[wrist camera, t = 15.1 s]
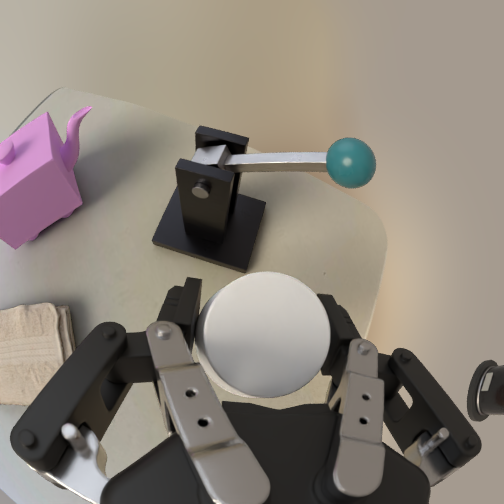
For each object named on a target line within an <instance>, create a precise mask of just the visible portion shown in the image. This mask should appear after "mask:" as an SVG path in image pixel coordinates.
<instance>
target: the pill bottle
mask: <svg viewBox="0 0 504 504" xmlns="http://www.w3.org/2000/svg"><path fill="white" fill-rule="evenodd" d="M329 346H330V324H329V319H328V316H327V313H326V310H325V308H324V306H323V304H322V303H321V301H320V299H319V298H318V297H317V295H316V294H315V293H314V292H313V291H312V290H311V289H310V288H309V287H308V286H307V285H305V284H304V283H303V282H301V281H299V280H298V279H296V278H294V277H291V276H289V275H286V274H283V273H278V272H256V273H251V274H248V275H245V276H242V277H240V278H238V279H236V280H234V281H233V282H231V283H230V284H229V285H227V286H225V287H223V288H222V289H220V290H219V291H218V292H216V293H215V294H214V295H213V296H212V297H211V298H210V299H209V300H208V302H207V303H206V304H205V306H204V307H203V309H202V311H201V313H200V315H199V317H198V320H197V324H196V329H195V347H196V353H197V356H198V359H199V361H200V363H201V365H202V367H203V369H204V370H205V372H206V373H207V375H208V376H209V377H210V378H211V379H212V380H213V381H214V382H215V383H216V384H217V385H218V386H220V387H221V388H223V389H224V390H226V391H228V392H230V393H233V394H235V395H238V396H242V397H248V398H274V397H280V396H285V395H287V394H290V393H293V392H295V391H297V390H299V389H300V388H302V387H303V386H305V385H306V384H307V383H308V382H310V381H311V380H312V379H313V378H314V377H315V376H316V374H317V373H318V372H319V370H320V369H321V367H322V366H323V364H324V361H325V359H326V357H327V354H328V351H329Z"/></svg>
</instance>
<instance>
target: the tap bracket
mask: <svg viewBox="0 0 504 504" xmlns="http://www.w3.org/2000/svg"><path fill="white" fill-rule="evenodd" d="M195 142H196V151H197V149H198V148H202V147H210V146H219V145H227V147H228V149H229V151H230V153H231V155H240V154H246V151H247V146H248V142H249V138H247V137H244V136H240V135H236V134H232V133H229V132H225V131H221V130H216V129H213V128H209V127H204V126H199V127H198V129H197V131H196V132H195ZM175 170H176V178H177V187H176V189H175V191H174V193H173V195H172V197H171V199H170V202H169V204H168V206H167V208H166V210H165V212H164V214H163V216H162V219H161V221H160V223H159V225H158V227H157V230H156V232H155V234H154V236H153V239H152V242H153V244H154V245H157V246H160V247H163V248H167V249H170V250H173V251H176V252H179V253H182V254H185V255H188V256H191V257H194V258H198V259H201V260H204V261H207V262H210V263H213V264H216V265H220V266H223V267H226V268H229V269H233V270H236V271H239V272H242V273H246V270H247V267H248V264H249V260H250V257H251V253H252V250H253V246H254V243H255V240H256V236H257V233H258V229H259V226H260V223H261V219H262V216H263V212H264V209H265V205H266V202H264V201H261V200H258V199H254V198H251V197H248V196H245V195H241V194H238V191H239V186H240V181H241V176H242V172H236V173H234V172H230V171H227V170H223V169H219V168H216V167H212V166H208V165H205V164H201V163H197V162H193V161H189V160H185V159H181V158H180V159H179V161H178V163H177V165H176V167H175Z"/></svg>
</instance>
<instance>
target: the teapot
mask: <svg viewBox="0 0 504 504" xmlns="http://www.w3.org/2000/svg"><path fill="white" fill-rule="evenodd" d="M91 108H92V107H91V106H88V107H85V108H83V109H81V110H79V111H78V112H76V113H75V114H74V115H73V116H72V117H71V118H70V120H69V122H68V125H67V140H66V142H65V144H63V142H62V140H61V138H60V136H59V134H58V132H57V130H56V128H55V126H54V124H53V122H52V119H51V117H50V115H49V113H48V112H46V113H44V114H42V115H41V116H39V117H37V118H36V119H34V120H33V121H31V122H30V123H28V124H27V125H25V126H24V127H22V128H21V129H19V130H18V131H16V132H15V133H14V134H12V135H11V136H9V137H8V138H7V139H5V140H4V141H3V142H2V143H0V238H1V239H2V240H3V241H4V242H6V243H7V244H9V245H10V246H11V247H13V248H14V249H17V248H18V247H20V246H21V245H22V244H24V243H25V242H26V241H28V240H34V239H36V238H37V236H38V234H39V232H40V231H42V230H43V229H45V228H46V227H48V226H49V225H51V224H52V223H54V222H55V221H57V220H58V219H60V218H61V217H62V218H67V217H69V216H70V215H71V214H72V213H73V211H74V209H76V208H77V207H79V206H81V205H82V204H83V203H82V200H81V196H80V193H79V190H78V186H77V183H76V179H75V175H74V172H73V167H74V165H75V164H76V162H77V159H78V156H79V126H80V123H81V121H82V119H83V118H84V116H85V115H86V114H87V113H88V112H89V111H90V110H91Z"/></svg>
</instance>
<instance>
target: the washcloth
mask: <svg viewBox="0 0 504 504" xmlns="http://www.w3.org/2000/svg"><path fill="white" fill-rule="evenodd" d="M75 349H76V347H75V341H74V334H73V329H72V322H71V316H70V310H69V307H68V306H67V305H66V306H63V305H61V306H57V307H56V306H54V304H52V303H48V302H44V303H40V304H31V305H24V304H23V305H19V306H17V307H13V308H10V309H6V310H1V311H0V404H4V405H6V404H8V405H12V404H15V405H19V404H20V405H23V406H26V405H27V406H28V405H29V406H30V404H31V403H32V402H33V401H34V399H35V398H36V397H37V395H38V394H39V393H40V392H41V390H42V389H43V388H44V387H45V385H46V384H47V383H48V382H49V380H50V379H51V378H52V377H53V375H54V374H55V373H56V372H57V371H58V369H59V368H60V367H61V366H62V365H63V363H64V362H65V361H66V360H67V359H68V358H69V356H70V355H71V354H72V353H73V352H74V351H75Z"/></svg>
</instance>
